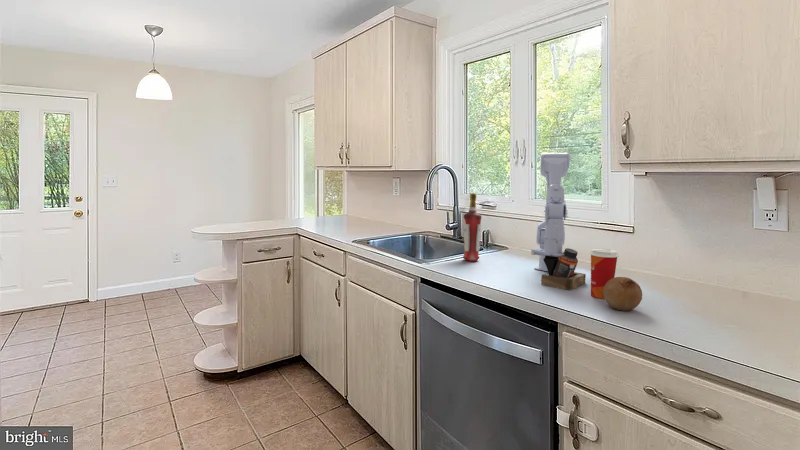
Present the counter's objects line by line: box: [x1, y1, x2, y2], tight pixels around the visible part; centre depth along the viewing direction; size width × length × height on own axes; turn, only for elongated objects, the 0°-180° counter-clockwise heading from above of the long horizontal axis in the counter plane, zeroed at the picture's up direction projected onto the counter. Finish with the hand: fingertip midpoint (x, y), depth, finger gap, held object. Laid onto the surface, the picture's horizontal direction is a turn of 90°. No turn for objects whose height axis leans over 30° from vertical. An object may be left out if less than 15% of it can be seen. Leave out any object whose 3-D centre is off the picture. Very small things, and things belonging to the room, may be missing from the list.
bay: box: [540, 271, 586, 291], centre depth 140 cm, size 12×10×3 cm
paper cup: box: [589, 248, 619, 300], centre depth 126 cm, size 8×8×14 cm
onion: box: [603, 276, 643, 312], centre depth 115 cm, size 10×9×10 cm
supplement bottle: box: [552, 247, 579, 279], centre depth 139 cm, size 6×6×11 cm
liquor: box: [462, 192, 482, 263], centre depth 175 cm, size 7×7×28 cm
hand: (551, 278), depth 143 cm, fingers closed, pressing on supplement bottle
